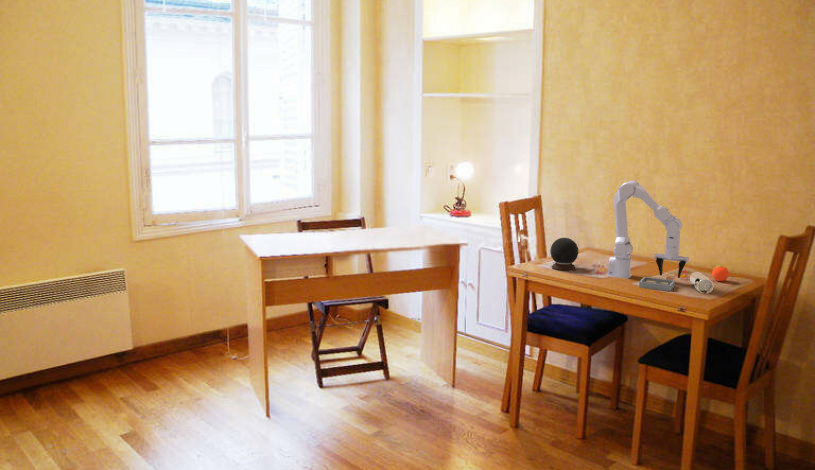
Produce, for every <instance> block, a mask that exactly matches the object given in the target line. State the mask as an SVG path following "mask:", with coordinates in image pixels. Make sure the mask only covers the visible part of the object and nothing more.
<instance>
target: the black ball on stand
mask: <svg viewBox="0 0 815 470" xmlns="http://www.w3.org/2000/svg"><path fill="white" fill-rule="evenodd" d="M549 253H550V256H551V259H552V260H553V261H554V263H553V264H552V265H551V269H552V270H553V271H554V270H555V271H558V272H572V271H573V272H574V271H575V270H576V269H577V267H576V266H575V264H573V263H574V262H575V261H576V260H577V259H578V257H579V247H578V245H577V243H576V241H574V240H573V239H572V238H569V237H559V238H557V239H556V240H554V241H553V242H552V244H551V246H550V250H549Z"/></svg>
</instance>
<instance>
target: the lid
mask: <svg viewBox="0 0 815 470" xmlns="http://www.w3.org/2000/svg"><path fill="white" fill-rule="evenodd" d="M665 279H666V280H674V281H675V280H676V275H673V274H672V275H671V274H667V275H666V277H665ZM675 282H676V281H675Z"/></svg>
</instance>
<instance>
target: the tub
mask: <svg viewBox="0 0 815 470" xmlns="http://www.w3.org/2000/svg"><path fill="white" fill-rule="evenodd" d="M647 280H648V281H656V283H649V282H646V281H647ZM658 282H665V283H668V285H665V284H658ZM638 283H639V284H638V288H642V289H649V290H656V291H657V290H658V291H663V292H664V291H666V292H671V291H672V290H673V288H675V283H676V281H674V280H666V278H665V279H663V278H656V277H649V276H648V277H647V276H643V278H642V279H640V281H639V282H638Z"/></svg>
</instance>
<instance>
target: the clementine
mask: <svg viewBox="0 0 815 470" xmlns="http://www.w3.org/2000/svg"><path fill="white" fill-rule="evenodd" d="M712 269H713V270H712V273H711V275H712V278H713V279H714V280H716V281H717V282H724V281H726V280H727V279H728V278H729V275H730V273H729V270H728V268H726V266H723V265H715V266H714V267H713V268H712Z"/></svg>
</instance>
